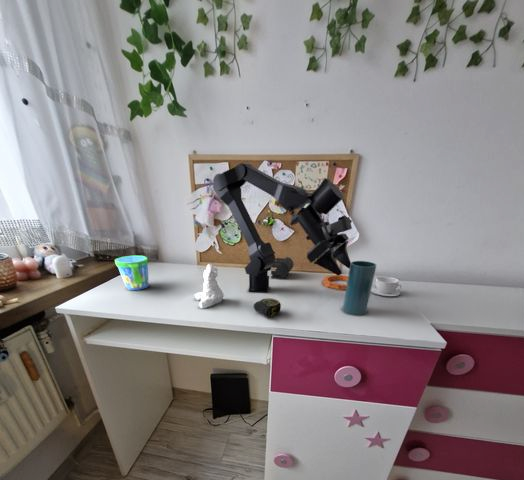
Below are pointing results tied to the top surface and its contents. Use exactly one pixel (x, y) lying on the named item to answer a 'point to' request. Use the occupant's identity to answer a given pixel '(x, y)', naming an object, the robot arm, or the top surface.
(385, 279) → the teacup
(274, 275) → the end cap
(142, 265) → the snack cup
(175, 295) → the top surface
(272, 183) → the robot arm
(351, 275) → the cup
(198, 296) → the sitting furry creature
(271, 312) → the tape measure
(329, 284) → the ring
